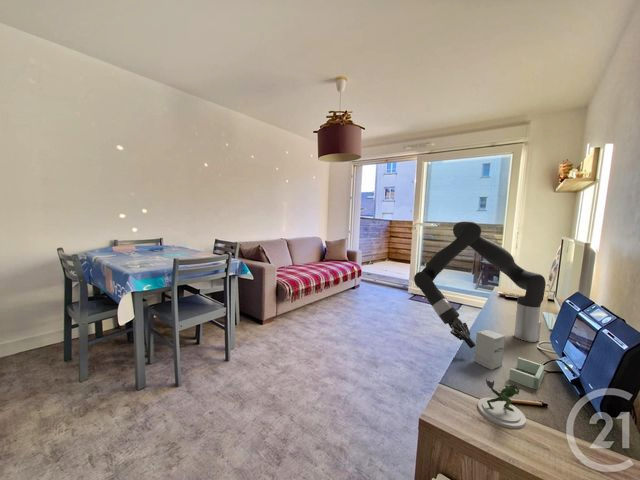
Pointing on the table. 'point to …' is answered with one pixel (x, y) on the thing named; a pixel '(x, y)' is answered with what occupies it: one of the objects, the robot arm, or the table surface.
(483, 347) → the supplement box
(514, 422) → the monster figurine
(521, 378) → the holder
